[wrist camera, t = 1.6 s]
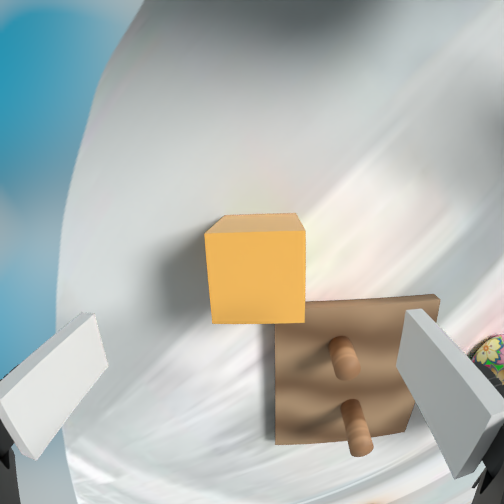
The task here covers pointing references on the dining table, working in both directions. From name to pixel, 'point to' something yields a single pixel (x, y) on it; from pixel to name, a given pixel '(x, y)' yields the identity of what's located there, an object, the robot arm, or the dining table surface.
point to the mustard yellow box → (256, 269)
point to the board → (318, 376)
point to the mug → (492, 356)
